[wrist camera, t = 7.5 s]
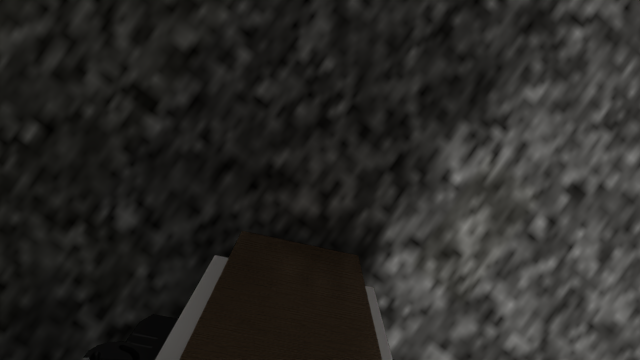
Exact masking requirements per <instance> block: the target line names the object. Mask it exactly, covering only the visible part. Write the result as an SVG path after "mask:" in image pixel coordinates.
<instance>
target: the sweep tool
mask: <svg viewBox="0 0 640 360" xmlns="http://www.w3.org/2000/svg"><path fill="white" fill-rule="evenodd" d="M179 360H382V357H381V352H380V348H379V344H378V339H377V335H376V331H375V326H374V322H373V318H372V313H371V309H370V305H369V300H368V296H367V292H366V287H365V283H364V279H363V274H362V270H361V266H360V261H359V257H358V255H353V254H348V253H344V252H339V251H334V250H330V249H325V248H320V247H315V246H311V245H306V244H301V243H297V242H292V241H287V240H283V239H278V238H273V237H268V236H264V235H259V234H254V233H250V232H245V231H242V232H241V234H240V236H239V238H238V240H237V242H236V244H235V246H234V248H233V250H232V252H231V254H230V256H229V258H228V261H227V263H226V265H225V267H224V269H223V271H222V273H221V275H220V277H219V279H218V281H217V283H216V285H215V287H214V289H213V291H212V293H211V296H210V298H209V300H208V302H207V304H206V306H205V308H204V310H203V312H202V314H201V316H200V318H199V320H198V322H197V324H196V326H195V328H194V331H193V333H192V335H191V337H190V339H189V341H188V343H187V345H186V347H185V349H184V351H183V353H182V355H181V357H180V359H179Z"/></svg>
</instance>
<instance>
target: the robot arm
mask: <svg viewBox="0 0 640 360" xmlns="http://www.w3.org/2000/svg"><path fill="white" fill-rule="evenodd" d="M227 261H228V258H226V257H221V256H217V255H215V256H214V257H213V259H212V261H211V263H210V264H209V266H208V268H207V270H206V271H205V273H204V275H203V277H202V278H201V280H200V282H199V284H198V285H197V287H196V289H195V291H194V292H193V294H192V296H191V298H190V299H189V301H188V303H187V305H186V306H185V308H184V310H183V312H182V313H181V315H180V317H179V319H176V318H171V317H165V316H160V315H155V314H153V315H151V316H149V317H148V318H146V319H144V320H142V321H141V322H140V323H139V324H138V325H137V327H136V328H135V330H134V331H133V332H132V335H130V337H129V338H128V339H127V341H126V342H121V341H119V342H108V343H104V344H101V345H98V346H96V347H94V348H93V349H91V350H89V351H88V353H87V354H86V355H85V356H84V358H83V360H179V359H180V357H181V355H182V353H183V351H184V349H185V347H186V345H187V343H188V341H189V339H190V337H191V335H192V333H193V331H194V328H195V326H196V324H197V322H198V320H199V318H200V316H201V314H202V312H203V310H204V308H205V306H206V304H207V302H208V300H209V298H210V296H211V293H212V291H213V289H214V287H215V285H216V283H217V281H218V279H219V277H220V275H221V273H222V271H223V269H224V267H225V265H226V263H227ZM365 287H366V292H367V296H368V300H369V305H370V309H371V313H372V318H373V322H374V326H375V331H376V335H377V339H378V344H379V348H380V352H381V357H382V360H393V359H392V356H391V352H390V348H389V344H388V340H387V337H386V333H385V329H384V325H383V321H382V318H381V314H380V310H379V306H378V302H377V299H376V295H375V291H374V287H369V286H365Z"/></svg>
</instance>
